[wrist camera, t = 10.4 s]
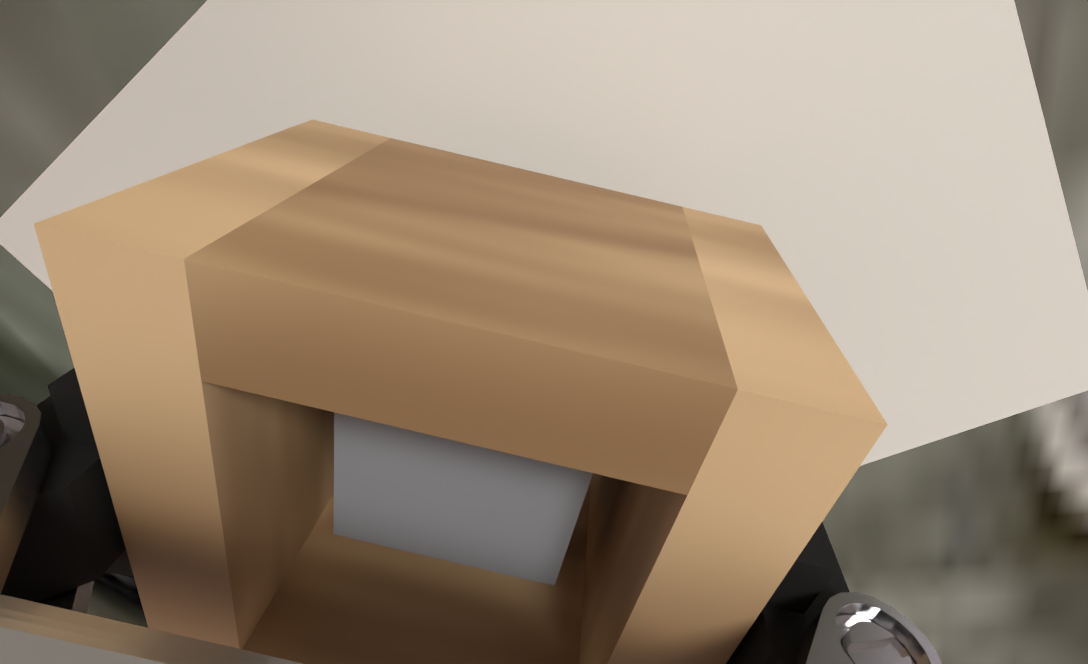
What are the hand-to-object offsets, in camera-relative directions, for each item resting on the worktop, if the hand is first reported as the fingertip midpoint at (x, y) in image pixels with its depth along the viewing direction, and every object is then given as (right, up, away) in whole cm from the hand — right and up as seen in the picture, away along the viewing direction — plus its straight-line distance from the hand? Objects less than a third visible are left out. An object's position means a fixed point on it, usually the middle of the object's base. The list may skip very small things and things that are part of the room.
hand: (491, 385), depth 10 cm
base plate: (+1, +2, +4) cm, 5 cm away
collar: (0, 0, +1) cm, 1 cm away
